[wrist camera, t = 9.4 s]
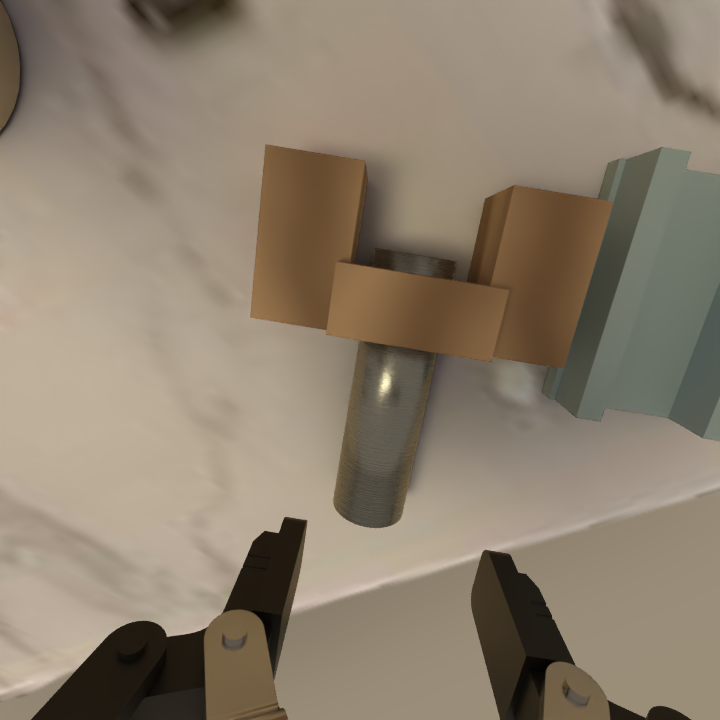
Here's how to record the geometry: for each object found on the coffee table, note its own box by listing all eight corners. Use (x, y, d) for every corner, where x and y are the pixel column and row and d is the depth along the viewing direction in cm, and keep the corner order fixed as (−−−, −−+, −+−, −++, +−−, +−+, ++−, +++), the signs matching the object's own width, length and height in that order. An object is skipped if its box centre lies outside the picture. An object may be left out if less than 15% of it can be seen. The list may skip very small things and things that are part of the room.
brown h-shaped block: (275, 304, 23) (243, 321, 17) (289, 166, 21) (258, 138, 16) (527, 345, 23) (574, 375, 17) (563, 211, 21) (628, 198, 16)
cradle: (542, 392, 23) (569, 416, 20) (608, 163, 20) (654, 145, 17) (682, 415, 23) (733, 443, 20) (770, 189, 20) (848, 177, 17)
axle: (403, 492, 26) (401, 534, 22) (339, 479, 26) (327, 518, 22) (452, 261, 22) (461, 262, 18) (378, 248, 22) (371, 247, 18)
